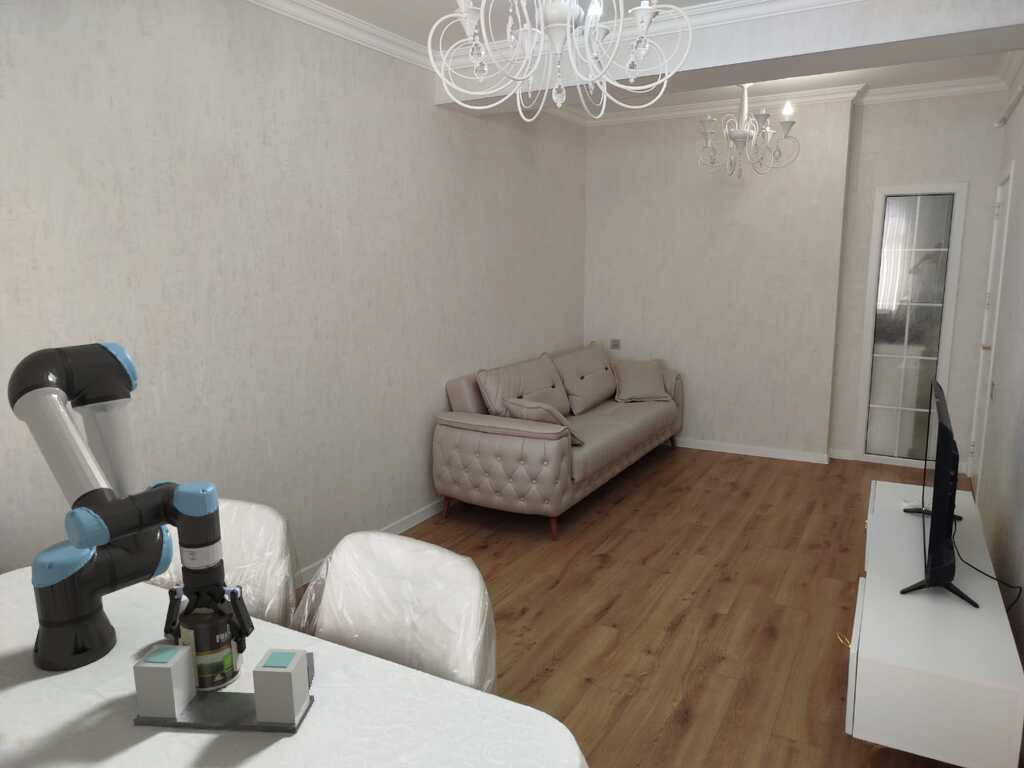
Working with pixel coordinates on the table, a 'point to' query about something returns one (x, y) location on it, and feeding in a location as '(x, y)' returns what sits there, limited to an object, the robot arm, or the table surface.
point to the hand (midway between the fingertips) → (212, 665)
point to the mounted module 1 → (164, 681)
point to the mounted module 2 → (281, 685)
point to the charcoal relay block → (310, 667)
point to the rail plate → (223, 714)
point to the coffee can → (209, 647)
